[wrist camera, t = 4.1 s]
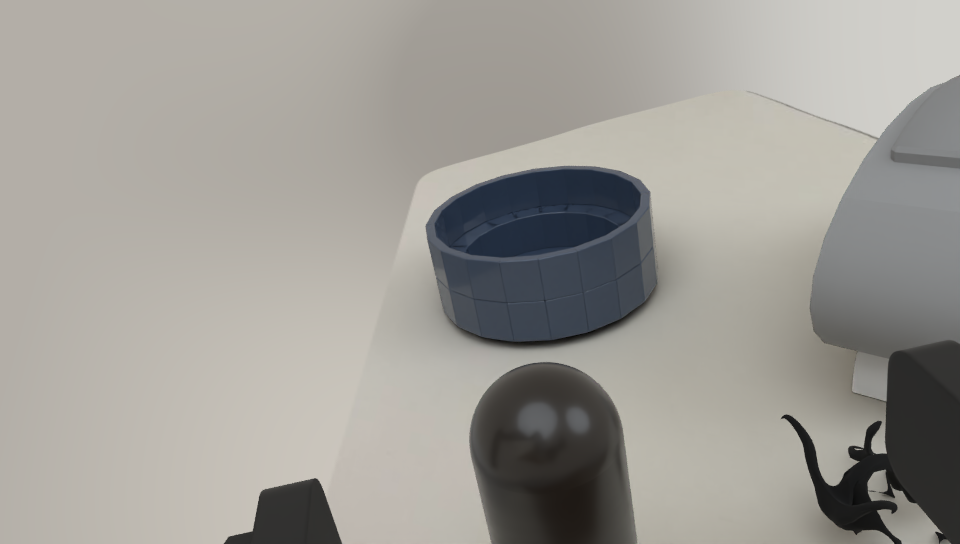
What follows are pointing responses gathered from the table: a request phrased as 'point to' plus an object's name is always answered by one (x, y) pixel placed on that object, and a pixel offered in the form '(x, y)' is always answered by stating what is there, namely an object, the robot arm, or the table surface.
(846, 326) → the alarm clock
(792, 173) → the table surface
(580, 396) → the two-tone capsule
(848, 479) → the creature
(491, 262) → the bowl
